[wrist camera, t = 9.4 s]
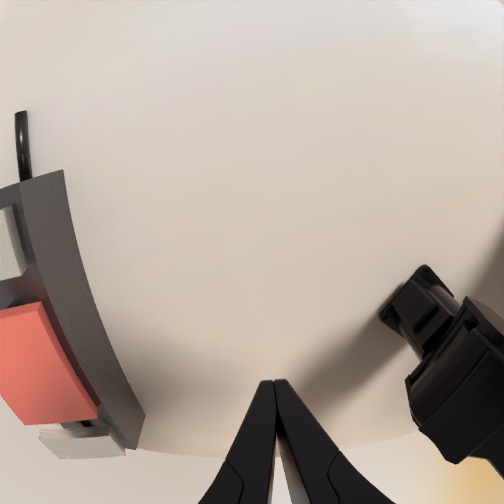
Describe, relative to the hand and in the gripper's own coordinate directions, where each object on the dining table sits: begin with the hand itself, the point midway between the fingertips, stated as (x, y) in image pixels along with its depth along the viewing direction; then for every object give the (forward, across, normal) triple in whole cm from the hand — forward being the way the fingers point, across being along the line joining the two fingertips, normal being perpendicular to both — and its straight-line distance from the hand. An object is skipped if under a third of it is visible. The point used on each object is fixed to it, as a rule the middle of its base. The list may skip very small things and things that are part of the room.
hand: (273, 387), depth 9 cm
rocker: (+5, +20, +7) cm, 22 cm away
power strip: (+13, +20, +4) cm, 24 cm away
